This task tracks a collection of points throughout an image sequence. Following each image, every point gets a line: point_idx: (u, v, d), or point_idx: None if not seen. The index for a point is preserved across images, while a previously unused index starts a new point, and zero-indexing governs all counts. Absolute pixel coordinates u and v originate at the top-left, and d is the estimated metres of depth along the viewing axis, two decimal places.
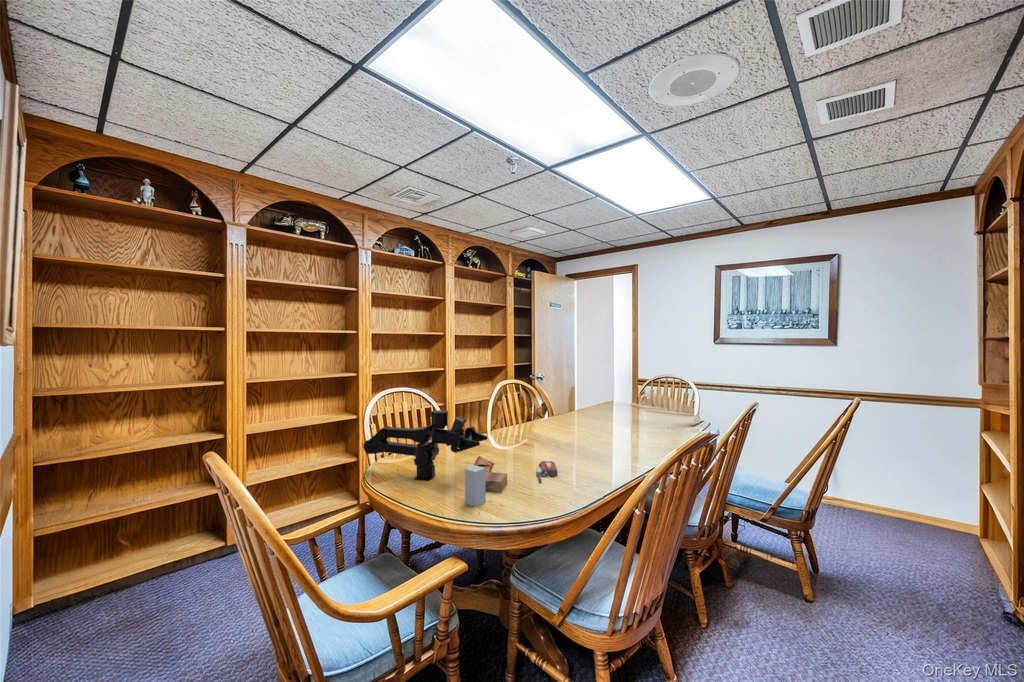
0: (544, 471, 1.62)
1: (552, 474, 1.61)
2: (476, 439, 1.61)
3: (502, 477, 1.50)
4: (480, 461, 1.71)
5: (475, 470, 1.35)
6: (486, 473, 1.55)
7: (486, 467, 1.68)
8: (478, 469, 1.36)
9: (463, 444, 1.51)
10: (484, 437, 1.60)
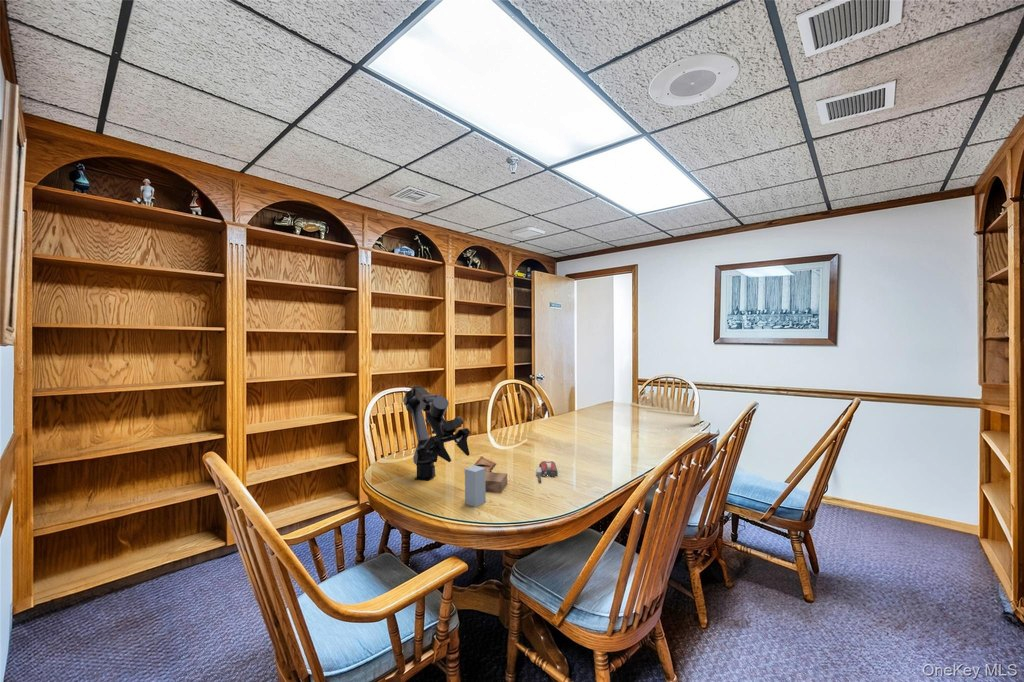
0: (544, 471, 1.62)
1: (552, 474, 1.61)
2: (460, 446, 1.49)
3: (502, 477, 1.50)
4: (481, 461, 1.71)
5: (475, 470, 1.35)
6: (486, 473, 1.55)
7: (486, 467, 1.68)
8: (478, 469, 1.36)
9: (438, 449, 1.41)
10: (466, 452, 1.46)
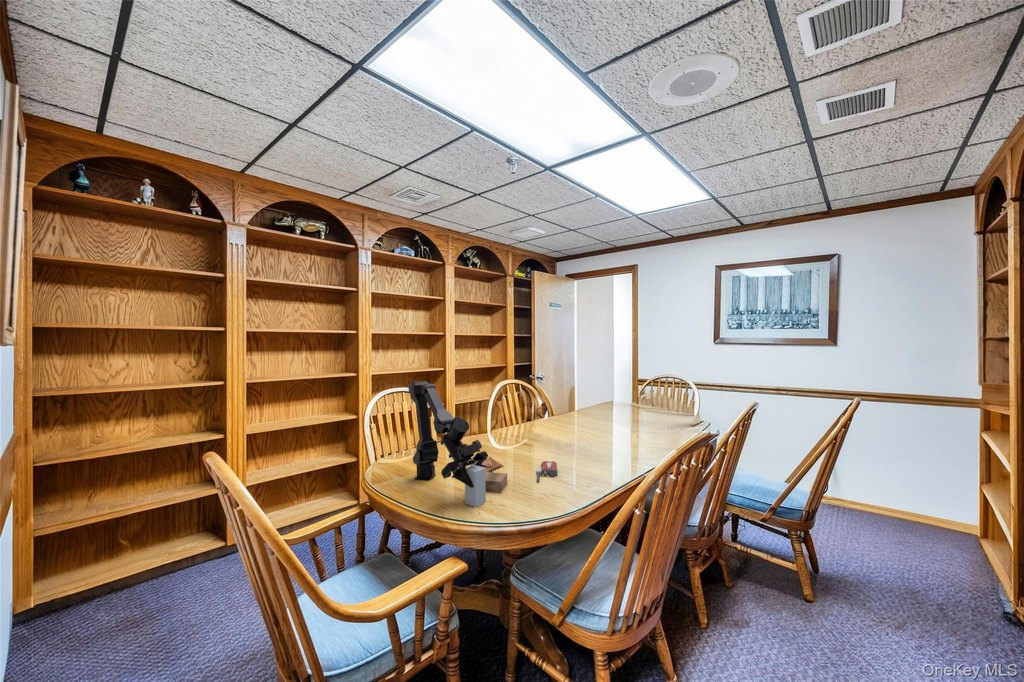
0: (543, 471, 1.62)
1: (551, 474, 1.62)
2: None
3: (502, 477, 1.50)
4: None
5: (475, 470, 1.35)
6: (486, 473, 1.55)
7: (485, 468, 1.67)
8: (478, 469, 1.36)
9: (459, 473, 1.36)
10: None
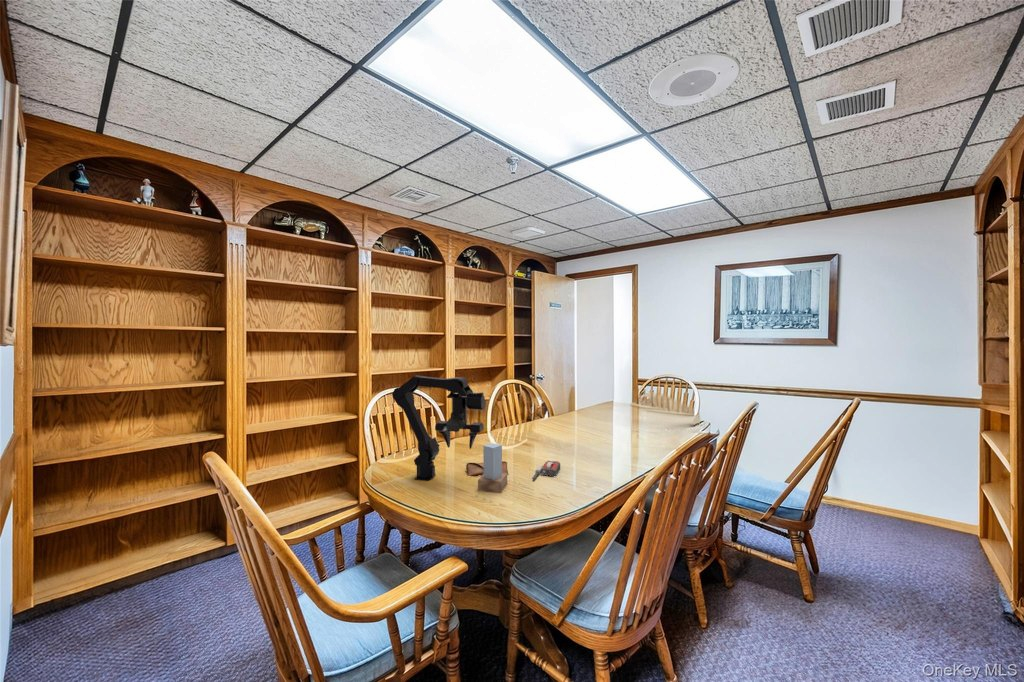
0: (542, 470, 1.63)
1: (550, 474, 1.62)
2: None
3: (502, 477, 1.50)
4: None
5: (493, 446, 1.49)
6: None
7: (480, 469, 1.65)
8: (495, 446, 1.50)
9: None
10: None
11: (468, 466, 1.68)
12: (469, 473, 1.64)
